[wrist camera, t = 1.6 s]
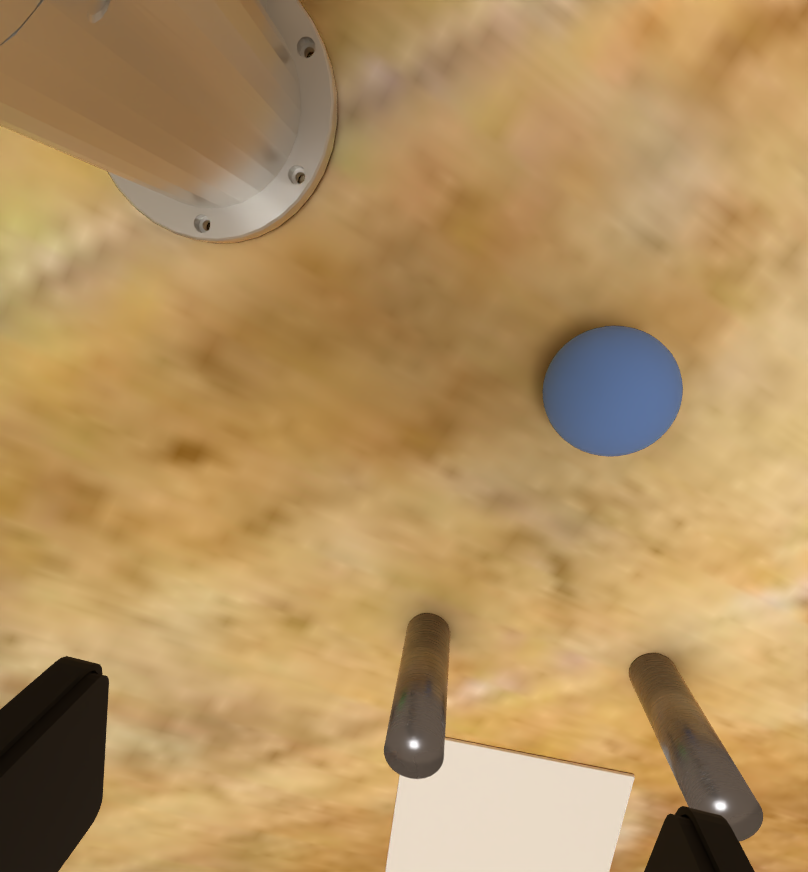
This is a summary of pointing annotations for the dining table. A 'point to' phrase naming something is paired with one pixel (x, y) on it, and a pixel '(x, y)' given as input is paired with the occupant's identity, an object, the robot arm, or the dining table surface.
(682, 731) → the post
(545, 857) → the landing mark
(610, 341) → the ball
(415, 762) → the post
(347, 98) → the dining table surface
